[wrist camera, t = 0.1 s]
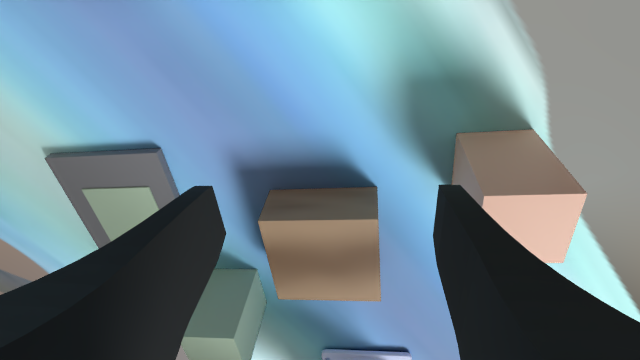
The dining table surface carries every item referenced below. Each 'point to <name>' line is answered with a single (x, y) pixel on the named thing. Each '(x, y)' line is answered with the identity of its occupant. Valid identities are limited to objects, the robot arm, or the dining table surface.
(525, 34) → the dining table surface
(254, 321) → the sage block
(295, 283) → the walnut slab
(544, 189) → the terracotta block
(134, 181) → the card
